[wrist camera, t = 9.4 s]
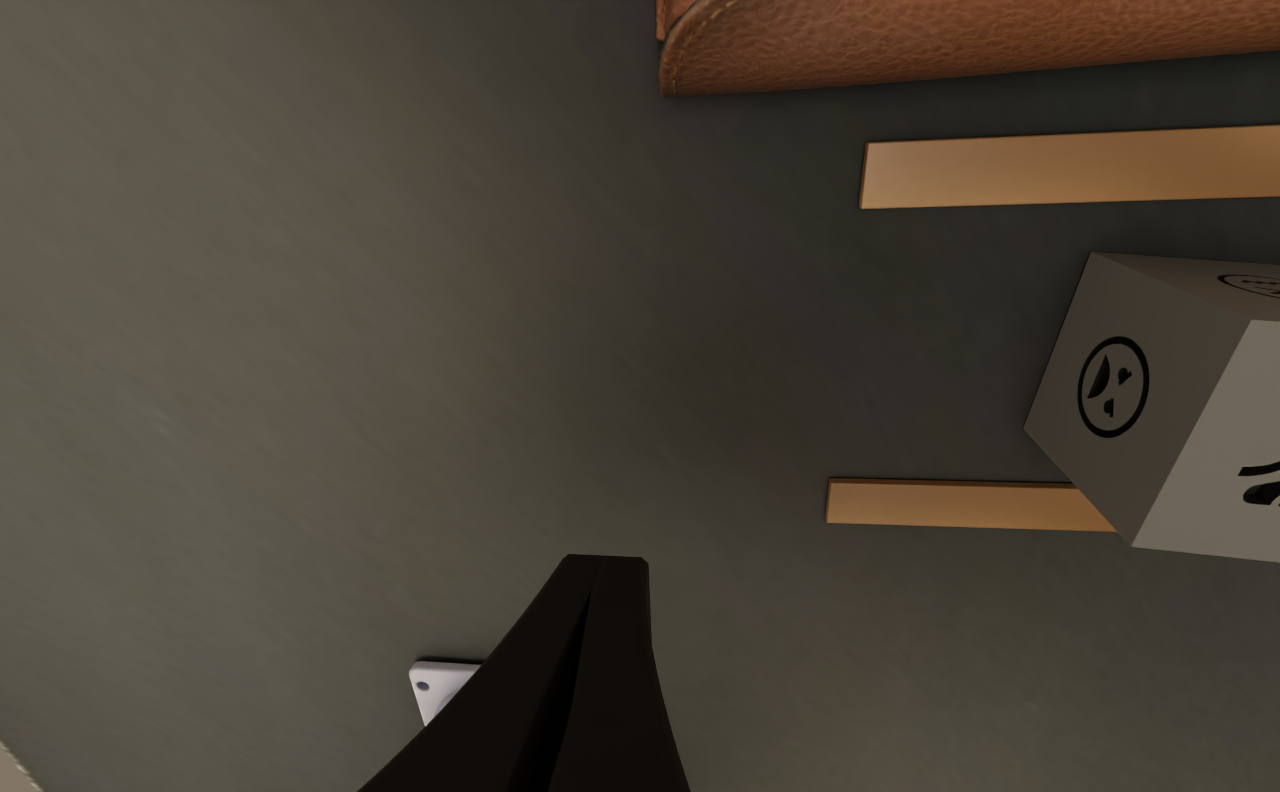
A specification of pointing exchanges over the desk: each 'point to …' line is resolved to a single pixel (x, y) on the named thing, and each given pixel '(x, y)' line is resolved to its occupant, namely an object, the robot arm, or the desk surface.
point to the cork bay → (1040, 176)
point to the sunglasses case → (935, 39)
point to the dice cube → (1171, 402)
